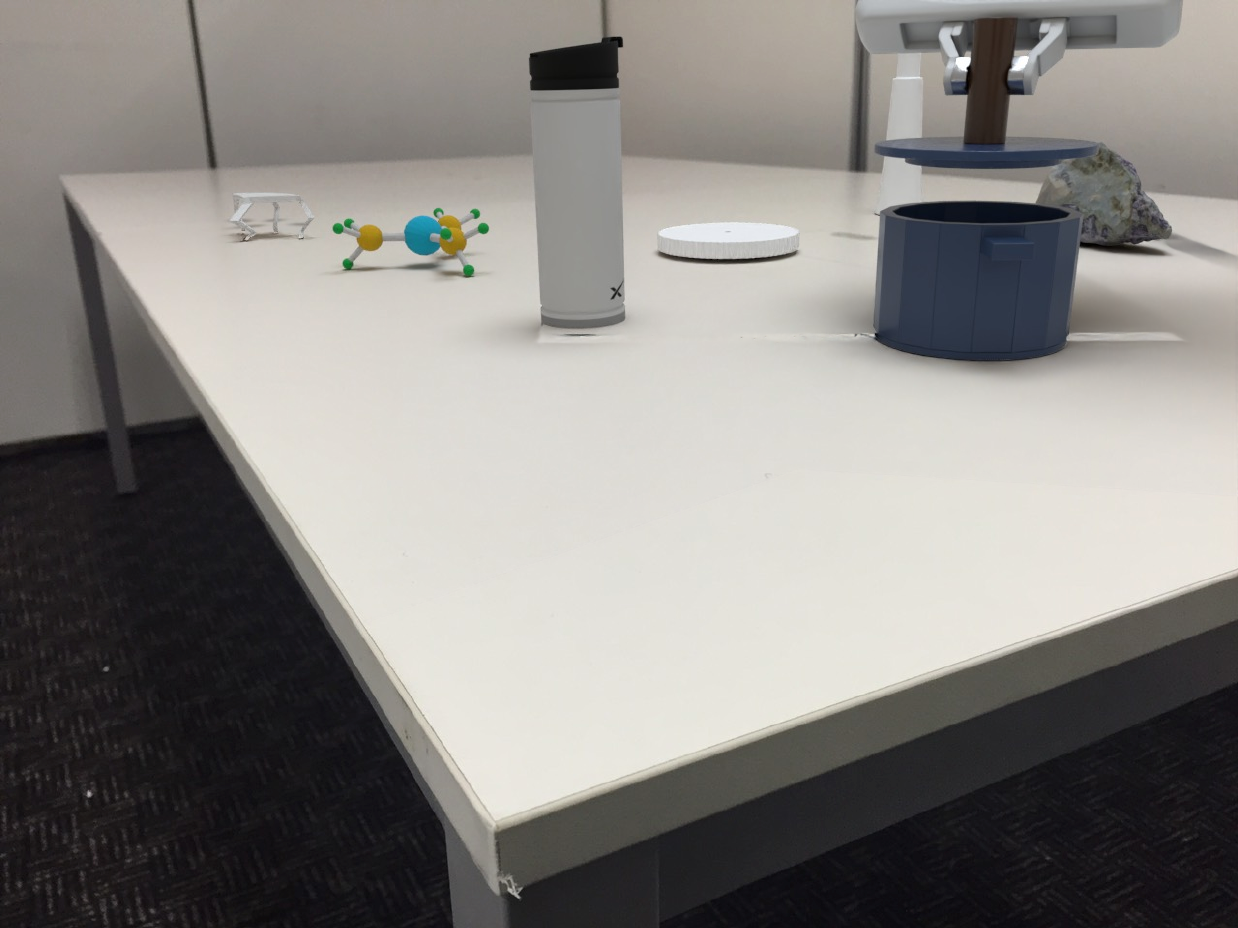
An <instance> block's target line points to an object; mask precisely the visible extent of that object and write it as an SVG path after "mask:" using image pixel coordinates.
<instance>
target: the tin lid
mask: <svg viewBox="0 0 1238 928" xmlns="http://www.w3.org/2000/svg"><path fill="white" fill-rule="evenodd" d="M1017 23H1018V18H1017V17H991V18H976V19H974V27H973V38H972V49H971V52H970V57H971V60H970V71H969V83H968V94H967V95H966V107H965V118H964V129H963V136H933V137H932V136H930V137H922V138H908V139H895V140H887V141H886V140H882V141H878V142H876V143H875V144H874V154H876V155H878V156H881V157H884V156H886V157H894V158H904V159H905V162H906V163H908V164H911V165H917V166H921V167H928V168H940V169H960V170H961V169H962V170H963V169H964V170H965V169H966V170H1011V169H1012V170H1013V169H1019V170H1020V169H1037V168H1047V167H1053V166H1056V165H1060V164H1062V163H1063V160H1065V159H1077V158H1085V157H1091V156H1095V155H1097V154H1098V151H1099V144H1098V143H1099V142H1096V141H1092V140H1084V139H1075V138H1061V137H1060V138H1059V137H1040V136H1039V137H1038V136H1007V132H1008V120H1009V112H1010V111H1009V110H1010V101H1011V95H1009V93H1008V90H1009V86H1008V83H1007V79H1008V72H1009V70H1010V69H1011V62H1012V60H1013V57H1014V56H1015V53H1016V51H1015V43H1016V33H1017Z"/></svg>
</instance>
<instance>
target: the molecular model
mask: <svg viewBox="0 0 1238 928" xmlns="http://www.w3.org/2000/svg"><path fill="white" fill-rule="evenodd" d="M433 215H434V217H435V218H436V219H438V220H436V219H435V218H434V217H431V216H429V215H418V216H414V217H412V218H411V219H409V221H408V222H407V223H406V225H405V227H404V230H403V232H382V230H381V229H380V228H379V227H378V226H376V225H375V224H364V225H362V226H359V225H358V224H357V223H355V220H354V219H352V218H349V217H348V218H346V219H345V220H344V221H343V224H342V223H340V222H336V223H334V224H333V225H332V232H333V233H334V234H336V235H341V234H346V235H348V236H351V237H354V238H355V239H356V243H357V244H358V247H357V248H356V249H355V250H354V251H353V252H352V254H351V255H350V256H349V257H347V258H344V259H343V260H342V263H341V264H342V267H343V268H344V269H345V270H351V269H352V268H354V262H355V261H356V259H357V258H359V256H360V255H361V253H363V252H364V251H367V252H375V251H377V250H379V249H380V248H381V247H382V245H383V243H384V242H404V243H405V244H406V246H407V248H408V249H409V250H410V251H411V252H412V253H414V254H415V255H418V256H431V255H434V254H435V253H437V251H439V250H440V249H441V250H442V252H444V253H445V254H447V255H451V256H457V258H458V260H459V262H460V264H461V265H462V267H463V268H462V272H463V274H464V275H465V276H467V277H471V276H473V275H474V273H475V267H474V266H473V265H471V264H470V263H469V261H468V259H467V258H466V255H465V254H464V250H465V249H466V247H467V244H468V239H470V238H472V237H475V236H476V235H478V234H480V235H485V234H488V233H489V231H490V226H489V225H488V223H486V222H480V223H479V224H478V225H477V226H476V227H474V228H472V229H470V230H468V231H466V232H464V231H463V230H462V226H463V225H464V224H466V223H468V222H470V221H472V220H477V219H479V218H480V217H481V211H480V209H478V208H472V209H470V212H469V213H468V214H467V215H465V216H463V217H461V218H459V219H458V218H457V217H455V216H454V215H451V214H450V215H449V214H448V215H447V214H446V215H445V212H444V210H443V209H442V208H441V207H436V208H435V209H433Z"/></svg>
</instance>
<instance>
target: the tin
mask: <svg viewBox="0 0 1238 928" xmlns="http://www.w3.org/2000/svg"><path fill="white" fill-rule="evenodd" d="M1083 215H1084V214H1083V213H1081V212H1079V211H1076V210H1074V209H1071V208H1066V207H1060V206H1054V205H1047V204H1036V202H1034V203H1033V202H1022V201H1006V200H1003V201H1002V200H936V201H935V200H934V201H923V202H920V203H908V204H902V205H896V206H890V207H888V208H886V209H884V210H882V211H880V215H879V222H878V224H879V225H878V237H877V238H878V241H877V257H876V258H877V259H876V272H875V273H876V274H875V290H874V291H875V292H874V307H873V322H872V325H873V328H874V330H875V331H876V332H874V333H873V334H874V338H875V339H876V340H877V341H878V342H880V343H882V344H883V345H885V346H887V347H890V348H893V349H895V350H899V351H902V352H906V353H910V354H916V355H920V356H926V357H933V358H939V359H940V358H941V359H949V360H961V361H1014V360H1026V359H1033V358H1038V357H1039V358H1040V357H1044V356H1048V355H1051V354H1054V353H1057V352H1059V351H1061V350H1062V349H1064V348H1065V347H1066V345H1067V342H1068V341H1067V339H1068V335H1069V333H1070V325H1071V319H1072V312H1073V311H1072V309H1073V303H1074V296H1075V295H1074V293H1075V286H1076V279H1077V278H1076V277H1077V270H1078V262H1079V253H1080V245H1081V241H1080V239H1081V231H1082V223H1083Z"/></svg>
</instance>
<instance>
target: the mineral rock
mask: <svg viewBox="0 0 1238 928" xmlns="http://www.w3.org/2000/svg"><path fill="white" fill-rule="evenodd" d="M1097 143H1098V144H1099V151H1098V154H1097V155H1095V156H1091V157H1085V158H1077V159H1065V160H1063V163H1062V164H1060V165H1056V166H1051V169H1050V170H1049V172H1048V173H1047V175H1046V177H1045V178H1044V181H1043V183H1042V184H1041V187H1040V190H1039V193H1038V195H1037V199H1036V200H1035V203H1036V204H1047V205H1054V206H1060V207H1066V208H1071V209H1074V210H1076V211H1079V212H1081V213H1083V214H1084V215H1083V223H1082V231H1081V239H1080V243H1087V244H1097V245H1100V246H1107V247H1112V246H1119V245H1123V244H1132V245H1139V244H1141V243H1144V242H1146V243H1148V242H1149V243H1150V242H1151V241H1157V240H1158V241H1159V240H1168V239H1170V237H1171V236H1172V233H1173V228H1172V225H1170V223H1169V221H1168V220H1166V219H1165V218H1164V214H1163V213H1162V212H1161V211H1160V208H1159V206H1158V204H1156V202H1155V201H1154V200H1153V199H1152V198H1151V197H1150V196H1148V194H1147V193H1146V192H1145V190H1143V189H1142V182H1141V179H1140V176H1139V175H1138V172H1137V169H1136V167H1135V166H1134V165H1133V163H1132V162H1130V161H1128V160H1126V159H1125V158H1124V157H1123V156H1121V155H1120V154H1119V153H1117V151H1115V150H1112V149H1110V148H1109V147H1108V145H1106V143H1104V142H1102V141H1099V142H1097Z"/></svg>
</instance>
